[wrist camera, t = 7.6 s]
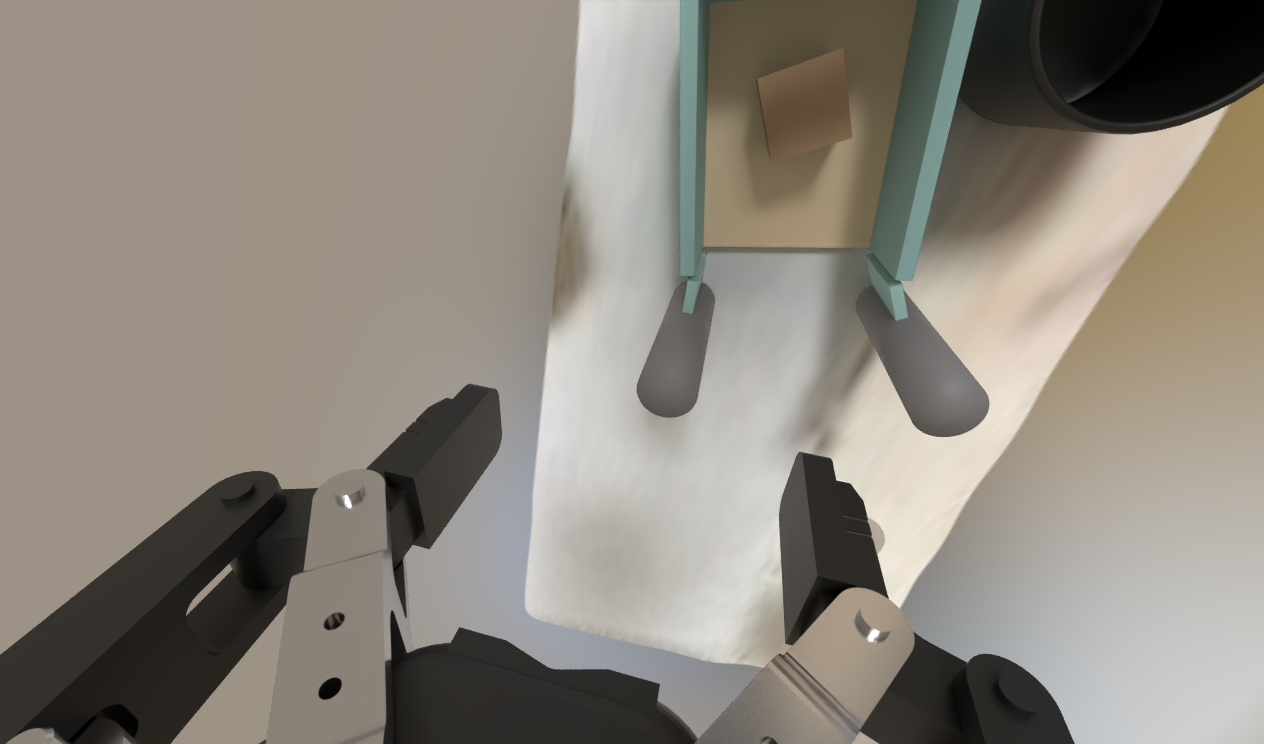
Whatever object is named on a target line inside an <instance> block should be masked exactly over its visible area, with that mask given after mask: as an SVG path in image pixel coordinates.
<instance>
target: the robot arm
mask: <svg viewBox="0 0 1264 744" xmlns="http://www.w3.org/2000/svg"><path fill="white" fill-rule="evenodd" d="M501 439H502V428H501V415H500V403H499V394H498V391H497V390H496V389H493V388H488V387H483V386H478V385H473V384H468V385H466V386H465V387H464V388H463V389H462V390H461V391H460V392H459V393H458V394H457V395H456V396H455V397H454V398H453V399H449V398H445V399H443V400H442V401H440V402H438V403H436V404H434V405H432V406H430V407H428V408H427V409H426V410H425V411H424V412H423V413H422V414H421V415H420V416H419V417H418V418H417V419H416V422H413V423H412V424H411V425H410V426H409V427H408V428H407V429H406V432H403V433H402V434H401V435H400V436H399V437H398V438H397V439H396V440H395V441H394V442H393V443H392V444H391V445H390V446H389V447H388V448H387V449H386V450H385V451H384V452H383V453H382V454H381V455H380V456H379V457H378V458H377V459H376V460H375V461H373V462H372V464H370V466H368V467H367V469H358V470H351V471H347V472H344V473H341V474H338V475H336V476H334V477H332V478H330V479H329V480H328V481H326V482H325V483H323V484H322V485H321V486H320V487H319V488H313V489H311V488H310V489H281V487H280V485H279V482H278V480H277V478H276V477H275V476H274V475H273V474H271V473H268V472H262V471H251V472H245V473H241V474H237V475H234V476H231V477H229V478H226V479H224V480H222V481H220V482H218V483H217V484H215V485H214V486H212V487H211V488H209V489H208V490H207V491H206V492H204V493H203V494H202V495H201V496H200V497H198V498H197V499H196V500H194V501H193V502H192V503H190V504H189V505H188V506H187V507H185V508H184V509H183V510H182V511H180V512H179V513H178V514H177V515H175V516H174V517H173V518H172V519H171V520H169V521H168V522H167V523H165V524H164V525H163V526H162V527H160V528H159V529H158V530H157V531H155V532H154V533H153V534H152V535H150V536H149V537H148V538H146V539H145V540H144V541H143V542H142V543H141V544H139V545H138V546H136V547H135V548H134V549H133V550H132V551H130V552H129V553H128V554H126V555H125V556H124V557H123V558H121V559H120V560H119V561H118V562H116V563H115V564H114V565H113V566H111V567H110V568H109V569H108V570H106V571H105V572H104V573H102V574H101V575H100V576H99V577H98V578H96V579H95V580H94V581H92V582H91V583H90V584H89V585H88V586H86V587H85V588H84V589H82V590H81V591H80V592H79V593H77V594H76V595H75V596H74V597H72V598H71V599H70V600H69V601H67V602H66V603H65V604H64V605H62V606H61V607H60V608H59V609H57V610H56V611H55V612H53V613H52V614H51V615H50V616H49V617H47V618H46V619H45V620H43V621H42V622H41V623H40V624H38V625H37V626H36V627H35V628H33V629H32V630H31V631H30V632H28V633H27V634H26V635H25V636H24V637H22V638H21V639H20V640H18V641H17V642H16V643H15V644H13V645H12V646H11V647H10V648H8V649H7V650H6V651H4V652H3V653H2V654H1V655H0V744H171V742H172V741H173V740H174V739H175V737H176V736H177V735H178V734H179V733H180V731H181V730H182V729H183V728H184V727H185V725H186V724H187V723H188V722H189V721H190V719H191V718H192V717H193V716H194V715H195V713H196V712H197V711H198V710H199V709H200V707H201V706H202V705H203V704H204V703H205V701H206V700H207V699H208V698H209V697H210V695H211V694H212V693H213V692H214V691H215V689H216V688H217V687H218V686H219V685H220V683H221V682H222V681H223V680H224V679H225V677H226V676H227V675H228V674H229V673H230V671H231V670H232V669H233V668H234V666H235V665H236V664H237V663H238V662H239V661H240V659H241V658H242V657H243V656H244V654H245V653H246V652H247V651H248V650H249V649H250V647H251V646H252V645H253V644H254V642H255V641H256V640H257V639H258V638H259V637H260V635H261V634H262V633H263V632H264V630H265V629H266V628H267V627H268V626H269V624H270V623H271V622H272V621H273V620H274V618H275V617H276V616H277V615H278V614H279V612H280V611H281V610H282V609H283V608H284V606H285V605H286V611H285V618H284V624H283V631H282V638H281V645H280V651H279V658H278V665H277V671H276V678H275V685H274V691H273V698H272V705H271V712H270V718H269V725H268V732H267V739H266V740H264V741H262V742H261V743H259V744H852V743H853V741H854V740H855V738H856V737H857V735H858V733H859V731H860V732H861V733H863V734H864V735H866V736H868V737H869V738H871V739H872V740H874V741H875V742H877V743H879V744H1074V741H1073V739H1072V737H1071V734H1070V732H1069V730H1068V727H1067V725H1066V723H1065V721H1064V718H1063V716H1062V713H1061V711H1060V709H1059V707H1058V705H1057V704H1056V702H1055V700H1054V699H1053V697H1052V696H1051V695H1050V693H1049V692H1048V691H1047V690H1046V688H1045V687H1044V686H1043V685H1042V684H1041V683H1040V682H1039V681H1038V680H1037V679H1036V678H1035V677H1034V676H1032V675H1031V674H1030V673H1029V672H1027V671H1026V670H1025V669H1023V668H1022V667H1020V666H1018V665H1017V664H1016V663H1014V662H1012V661H1010V660H1008V659H1005V658H1003V657H1000V656H996V655H992V654H980V655H977V656H974V657H973V658H972V659H971V660H970V661H969V662H968V663H967V662H965V661H963V660H961V659H959V658H957V657H955V656H954V655H952V654H950V653H948V652H946V651H944V650H942V649H941V648H939V647H937V646H935V645H933V644H931V643H929V642H928V641H926V640H924V639H923V638H921V637H920V636H918V635H917V634H916V633H914V632H913V629H912V627H911V625H910V623H909V621H908V619H907V618H906V616H905V615H904V614H903V612H902V611H901V610H900V609H899V608H898V607H897V606H896V605H895V604H894V603H893V602H892V601H890V600H889V598H888V595H887V591H886V587H885V583H884V579H883V576H882V572H881V568H880V564H879V560H878V556H877V552H876V548H875V544H874V541H873V539H872V533H871V529H870V525H869V523H868V517H867V513H866V509H865V505H864V502H863V500H862V499H861V497H860V496H859V495H858V493H857V492H856V491H855V489H854V488H853V486H852V485H851V484H850V483H845V482H840V481H836V477H835V472H834V467H833V462H832V460H831V458H827V457H822V456H817V455H813V454H808V453H803V452H799V453H798V454H797V456H796V459H795V461H794V464H793V467H792V470H791V473H790V476H789V478H788V481H787V484H786V487H785V490H784V492H783V495H782V499H781V504H780V511H779V528H780V547H781V566H782V585H783V604H784V623H785V643H786V644H789V645H793V646H792V647H791V648H790V649H789V650H788V651H787V652H786V653H785V654H784V655H783V656H782V655H781V654H778V655H777V656H776V657H774V658H773V659H772V660H771V661H770V662H769V663H768V664H767V665H766V666H765V667H764V669H763V670H762V671H761V672H760V673H759V674H758V675H757V676H756V677H755V678H754V679H753V680H752V681H751V683H750V684H749V685H748V686H747V687H746V688H745V689H744V690H743V691H742V692H741V693H740V694H739V696H738V697H737V698H736V699H735V700H734V701H733V702H732V703H731V704H730V705H729V707H727V708H726V710H725V711H724V712H723V713H722V714H721V715H720V716H719V717H718V718H717V719H716V721H715V722H714V723H713V724H712V725H711V726H710V727H709V728H708V729H707V730H706V731H705V732H704V733H703V734H702V736H701V737H700V738H699V739H698V738H697V737H696V736H695V734H694V733H693V732H692V730H691V729H690V728H689V727H688V726H687V725H686V723H685V722H684V721H683V720H682V719H681V718H680V717H679V716H678V715H676V714H675V713H674V712H673V711H671V710H670V709H669V708H668V707H666V706H665V705H663V704H662V703H660V702H659V701H657V699H658V692H659V686H660V684H657V683H654V682H651V681H647V680H644V679H640V678H637V677H633V676H629V675H626V674H622V673H619V672H615V671H612V670H608V669H605V670H602V669H593V670H590V669H583V670H556V669H551V668H548V667H546V666H545V665H543V664H542V663H540V662H539V661H537V660H536V659H534V658H532V657H531V656H529V655H528V654H526V653H525V652H523V651H522V650H520V649H518V648H517V647H515V646H514V645H512V644H511V643H509V642H508V641H506V640H503V639H499V638H495V637H492V636H488V635H485V634H481V633H477V632H474V631H471V630H467V629H464V628H459V629H458V631H457V632H456V634H455V636H454V638H453V640H452V642H451V643H443V644H436V645H430V646H426V647H423V648H419V649H416V650H414V645H413V639H412V633H411V624H410V609H409V595H408V583H407V582H408V581H407V569H406V559H405V554H406V553H407V552H408V550H409V549H410V548H411V546H412V545H416V546H420V547H423V548H427V549H430V548H431V546H432V545H433V543H434V542H435V541H436V539H437V538H438V537H439V535H440V534H441V532H442V531H443V529H444V528H445V527H446V525H447V524H448V522H449V521H450V519H451V518H452V517H453V515H454V514H455V512H456V511H457V510H458V508H459V507H460V505H461V504H462V502H463V501H464V500H465V498H466V497H467V495H468V494H469V492H470V491H471V489H472V488H473V487H474V485H475V484H476V483H477V481H478V480H479V478H480V477H481V475H482V474H483V473H484V471H485V469H486V468H487V467H488V465H489V464H490V463H491V461H492V460H493V458H494V457H495V455H496V454H497V452H498V450H499V447H500V443H501ZM228 564H230V565H231V567H232V569H233V570H232V571H231V572H230V573H229V574H228V575H227V576H226V577H225V578H224V579H223V580H222V581H221V582H220V583H219V584H218V585H217V586H216V587H215V588H214V589H213V590H212V591H211V592H210V593H209V594H208V595H207V596H206V597H205V598H204V599H203V600H202V601H201V602H200V603H199V604H198V605H197V606H196V607H195V608H194V609H193V610H192V611H191V612H190V613H189V614H188V615H187V616H186V612H187V610H188V607H189V605H190V603H191V602H192V600H193V599H194V598H195V597H196V596H197V594H198V593H200V591H201V590H202V589H203V588H205V587H206V586H207V585H208V584H209V583H210V582H211V581H212V580H213V579H214V578H215V577H216V576H217V575H218V574H219V573H220V572H221V571H222V570H223V569H224V568H225V567H226V566H227V565H228Z"/></svg>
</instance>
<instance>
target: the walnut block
mask: <svg viewBox="0 0 1264 744" xmlns="http://www.w3.org/2000/svg"><path fill="white" fill-rule="evenodd" d="M756 82H757V88H758V94H759V100H760V106H761V112H762V117H763V123H764V129H765V135H766V141H767V147H768V153H769V157H770V160H771V162H774V161H778V160H781V159H784V158H788V157H791V156H794V155H798V154H801V153H804V152H808V151H811V150H814V149H818V148H821V147H824V146H828V145H831V144H834V143H838V142H841V141H844V140H847V139H851V138H852V128H851V118H850V108H849V98H848V88H847V78H846V68H845V58H844V48H841V49H838V50H835V51H833V52H830V53H827V54H824V55H822V56H819V57H816V58H813V59H811V60H808V61H805V62H802V63H799V64H797V65H794V66H791V67H788V68H786V69H783V70H780V71H777V72H774V73H772V74H769V75H766V76H763V77H761V78H758V79H757V81H756Z"/></svg>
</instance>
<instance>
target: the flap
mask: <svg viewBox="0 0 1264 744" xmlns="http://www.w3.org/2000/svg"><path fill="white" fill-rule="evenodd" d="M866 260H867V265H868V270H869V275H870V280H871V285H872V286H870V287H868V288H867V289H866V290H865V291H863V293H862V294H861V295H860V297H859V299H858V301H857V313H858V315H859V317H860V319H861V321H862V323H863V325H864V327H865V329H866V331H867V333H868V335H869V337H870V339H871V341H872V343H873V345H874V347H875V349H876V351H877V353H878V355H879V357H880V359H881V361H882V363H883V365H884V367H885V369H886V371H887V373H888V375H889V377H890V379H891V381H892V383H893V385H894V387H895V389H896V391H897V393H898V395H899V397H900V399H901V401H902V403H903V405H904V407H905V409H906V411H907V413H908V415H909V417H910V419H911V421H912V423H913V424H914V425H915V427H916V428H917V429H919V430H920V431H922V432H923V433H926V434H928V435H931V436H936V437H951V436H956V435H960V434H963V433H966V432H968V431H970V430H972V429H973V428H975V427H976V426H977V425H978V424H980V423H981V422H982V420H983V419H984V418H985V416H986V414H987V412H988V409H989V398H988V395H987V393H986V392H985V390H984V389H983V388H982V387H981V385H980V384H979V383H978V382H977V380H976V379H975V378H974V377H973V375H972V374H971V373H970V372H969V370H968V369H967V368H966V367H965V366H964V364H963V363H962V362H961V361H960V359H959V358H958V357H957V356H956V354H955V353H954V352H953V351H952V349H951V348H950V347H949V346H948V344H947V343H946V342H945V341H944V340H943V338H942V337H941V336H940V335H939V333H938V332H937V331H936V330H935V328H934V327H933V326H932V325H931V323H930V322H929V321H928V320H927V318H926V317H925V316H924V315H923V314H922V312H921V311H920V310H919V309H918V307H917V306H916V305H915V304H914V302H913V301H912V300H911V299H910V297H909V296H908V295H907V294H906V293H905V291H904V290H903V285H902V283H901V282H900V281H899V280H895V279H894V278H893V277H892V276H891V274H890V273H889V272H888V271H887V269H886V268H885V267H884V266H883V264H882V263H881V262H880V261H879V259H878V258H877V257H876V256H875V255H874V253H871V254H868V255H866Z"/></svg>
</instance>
